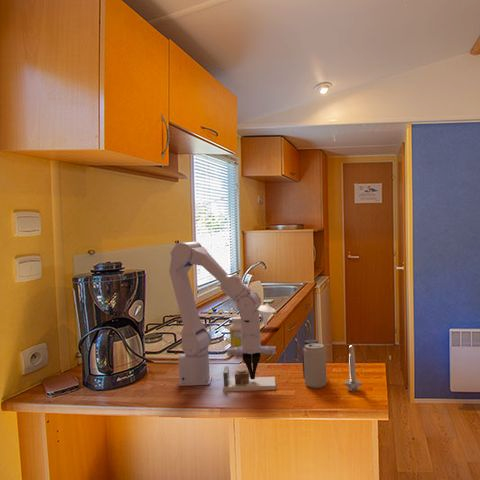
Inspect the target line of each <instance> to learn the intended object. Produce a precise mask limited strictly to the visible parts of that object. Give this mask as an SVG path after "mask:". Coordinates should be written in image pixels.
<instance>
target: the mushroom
mask: <svg viewBox="0 0 480 480" xmlns="http://www.w3.org/2000/svg"><path fill="white" fill-rule="evenodd" d="M257 310H259V311H260V312H261V313H262V315H263V320H262V321H263V323H262V324H263V325H264V328H265V329H267V325H268V324H267V322H268V319H269V318H270V317H271V315H273V314H274V313H275V312H277V311H276V309H275V308H273V307H272V306H270V305H269V302H267V303H266V304H264V305H262V304H261V305H260V307H259V308H258V309H257ZM260 312H259V316H260V317H261V318H262V315H261V313H260Z"/></svg>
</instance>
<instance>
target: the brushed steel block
mask: <svg viewBox="0 0 480 480" xmlns="http://www.w3.org/2000/svg"><path fill="white" fill-rule="evenodd" d="M222 376H223V384H224V386H228V384H229V378H230V366H229V365H227V366H224V369H223V375H222Z"/></svg>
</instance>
